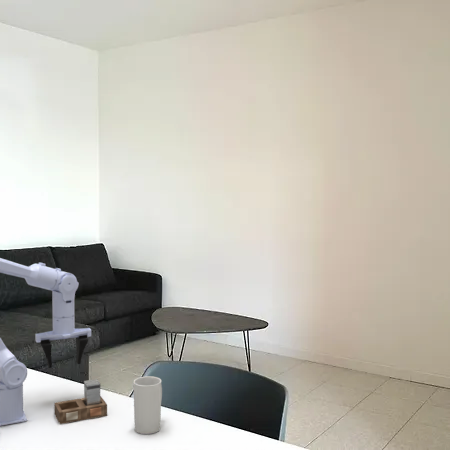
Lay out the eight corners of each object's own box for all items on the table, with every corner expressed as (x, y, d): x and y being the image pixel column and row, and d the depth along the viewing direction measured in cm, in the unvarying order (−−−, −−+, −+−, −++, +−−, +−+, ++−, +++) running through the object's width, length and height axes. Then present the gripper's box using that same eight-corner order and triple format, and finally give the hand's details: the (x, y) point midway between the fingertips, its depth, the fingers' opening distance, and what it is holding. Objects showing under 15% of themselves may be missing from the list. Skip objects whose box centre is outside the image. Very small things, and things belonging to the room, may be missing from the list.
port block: (59, 424, 140) (59, 412, 140) (54, 413, 147) (54, 402, 147) (107, 416, 146) (107, 404, 146) (100, 406, 152) (100, 395, 152)
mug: (152, 437, 134) (152, 387, 133) (128, 431, 137) (127, 383, 136) (172, 421, 143) (172, 374, 142) (150, 416, 146) (149, 370, 145)
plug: (87, 415, 145) (87, 385, 145) (84, 410, 148) (83, 380, 148) (100, 413, 147) (100, 383, 146) (97, 408, 150) (97, 379, 149)
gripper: (38, 321, 146) (38, 373, 147) (93, 316, 153) (94, 365, 154) (33, 316, 153) (34, 365, 154) (87, 310, 159) (88, 358, 160)
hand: (64, 364), depth 154 cm, fingers open, 7 cm apart
